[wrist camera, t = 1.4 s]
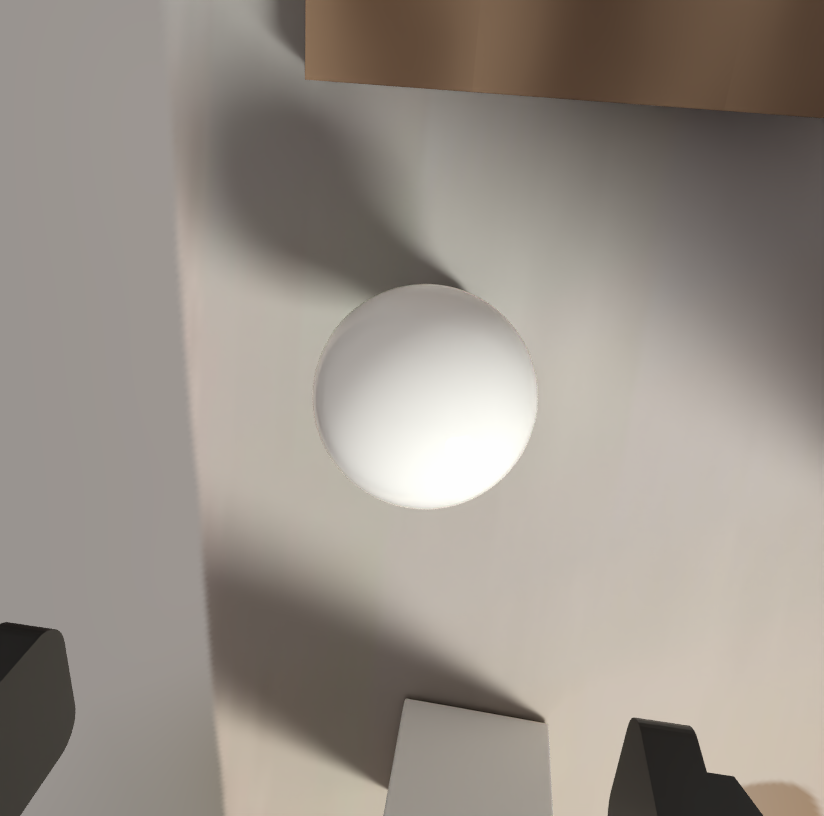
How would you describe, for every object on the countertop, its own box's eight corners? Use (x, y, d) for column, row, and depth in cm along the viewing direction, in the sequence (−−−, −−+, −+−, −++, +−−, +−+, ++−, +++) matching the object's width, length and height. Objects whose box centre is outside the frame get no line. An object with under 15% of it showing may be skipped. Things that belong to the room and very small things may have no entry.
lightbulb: (431, 199, 26) (378, 265, 16) (567, 304, 27) (597, 430, 17) (335, 331, 29) (238, 461, 19) (463, 424, 29) (436, 595, 19)
